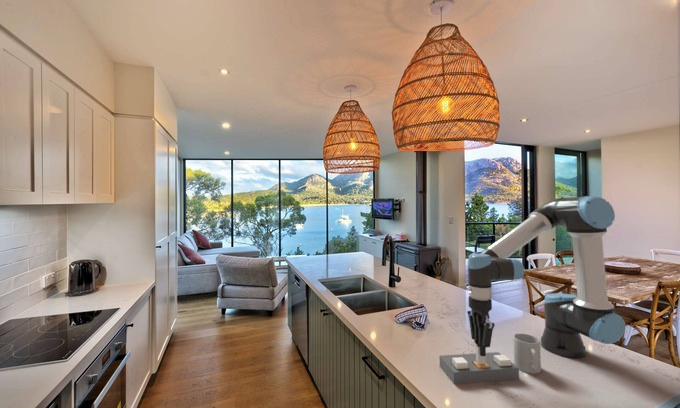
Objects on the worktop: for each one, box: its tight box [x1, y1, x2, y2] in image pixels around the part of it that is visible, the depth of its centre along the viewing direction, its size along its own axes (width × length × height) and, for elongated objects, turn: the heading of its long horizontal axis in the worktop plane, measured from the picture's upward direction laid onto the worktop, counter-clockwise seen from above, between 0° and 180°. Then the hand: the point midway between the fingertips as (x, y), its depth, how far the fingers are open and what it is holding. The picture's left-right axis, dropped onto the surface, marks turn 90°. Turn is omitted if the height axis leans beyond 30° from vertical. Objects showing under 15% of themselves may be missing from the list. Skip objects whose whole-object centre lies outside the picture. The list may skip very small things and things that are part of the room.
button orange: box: [473, 361, 490, 369], centre depth 100 cm, size 4×4×3 cm
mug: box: [513, 333, 542, 375], centre depth 104 cm, size 12×8×11 cm
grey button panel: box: [438, 351, 520, 385], centre depth 102 cm, size 24×11×6 cm, turn 95°
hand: (480, 363), depth 100 cm, fingers closed
